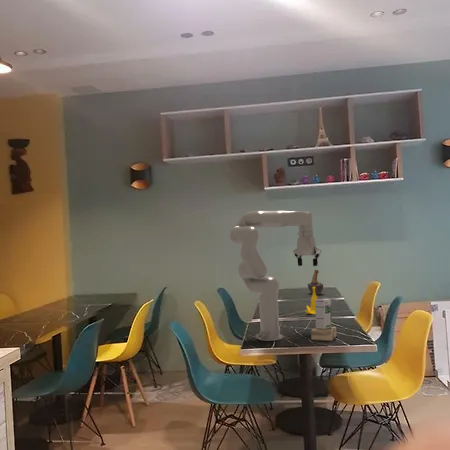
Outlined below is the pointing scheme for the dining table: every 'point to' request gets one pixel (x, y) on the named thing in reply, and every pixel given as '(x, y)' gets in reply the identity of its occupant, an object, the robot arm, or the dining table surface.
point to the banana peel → (312, 304)
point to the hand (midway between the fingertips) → (307, 265)
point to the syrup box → (323, 313)
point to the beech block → (323, 334)
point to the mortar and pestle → (315, 284)
